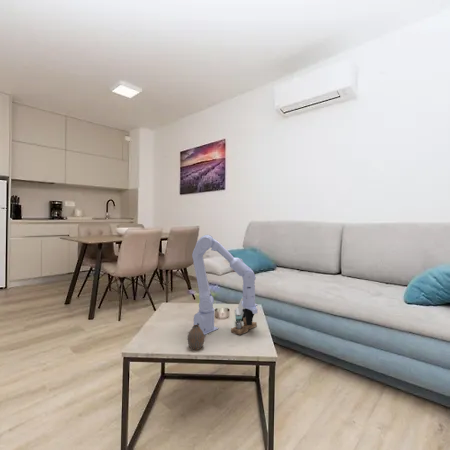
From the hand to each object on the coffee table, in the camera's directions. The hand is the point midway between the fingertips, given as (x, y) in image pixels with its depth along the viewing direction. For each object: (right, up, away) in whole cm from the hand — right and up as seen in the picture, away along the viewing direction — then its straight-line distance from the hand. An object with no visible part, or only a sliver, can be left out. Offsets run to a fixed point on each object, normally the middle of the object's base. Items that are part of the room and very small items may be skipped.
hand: (249, 324), depth 133 cm
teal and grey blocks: (-5, -3, +4) cm, 7 cm away
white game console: (-2, -3, +20) cm, 21 cm away
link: (-2, -3, 0) cm, 3 cm away
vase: (-23, -3, -18) cm, 29 cm away
